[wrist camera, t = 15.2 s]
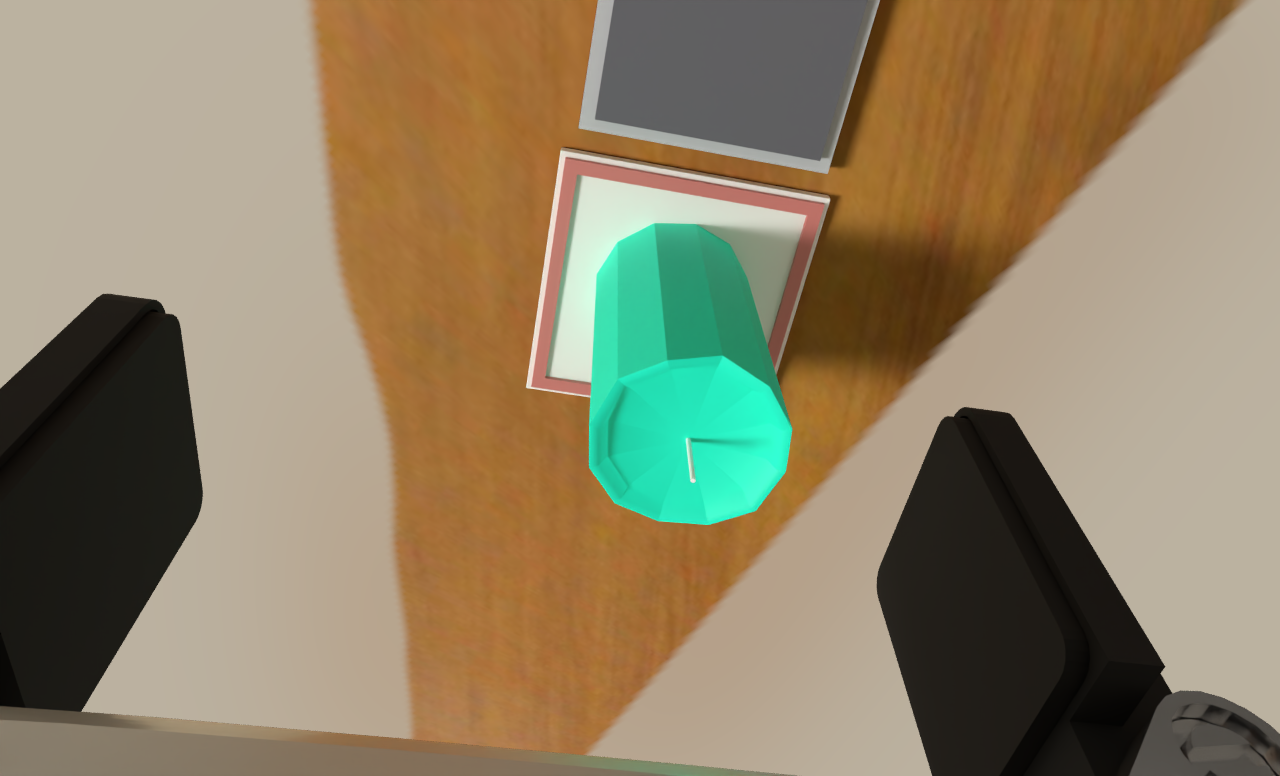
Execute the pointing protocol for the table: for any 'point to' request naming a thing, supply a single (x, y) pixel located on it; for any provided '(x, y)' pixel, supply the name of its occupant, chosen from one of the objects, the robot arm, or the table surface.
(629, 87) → the ink pad
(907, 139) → the table surface
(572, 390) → the marked card
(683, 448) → the candle
